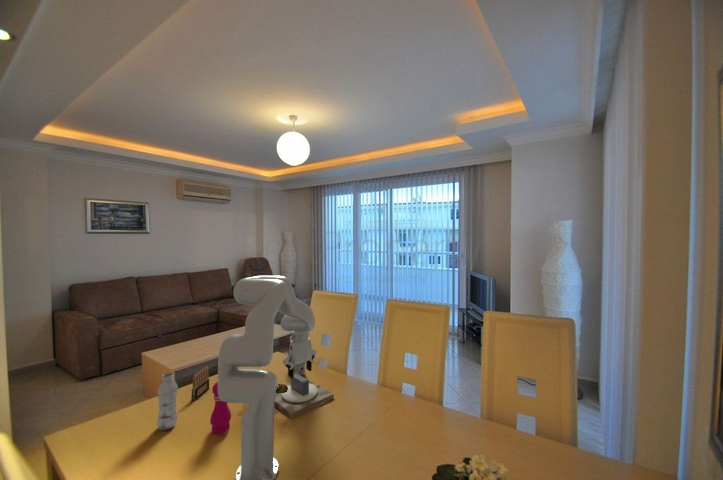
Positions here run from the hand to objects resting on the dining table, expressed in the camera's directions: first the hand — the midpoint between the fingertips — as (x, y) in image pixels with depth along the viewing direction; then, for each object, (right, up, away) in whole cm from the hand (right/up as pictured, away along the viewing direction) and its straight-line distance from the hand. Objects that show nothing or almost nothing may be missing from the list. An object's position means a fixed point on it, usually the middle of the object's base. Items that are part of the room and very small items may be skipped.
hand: (300, 373), depth 136 cm
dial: (0, -9, -1) cm, 9 cm away
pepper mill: (-25, -11, -23) cm, 36 cm away
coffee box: (-7, -11, +26) cm, 30 cm away
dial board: (0, -11, -1) cm, 11 cm away
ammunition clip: (-47, -11, +2) cm, 48 cm away
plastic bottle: (-47, -11, -22) cm, 53 cm away
